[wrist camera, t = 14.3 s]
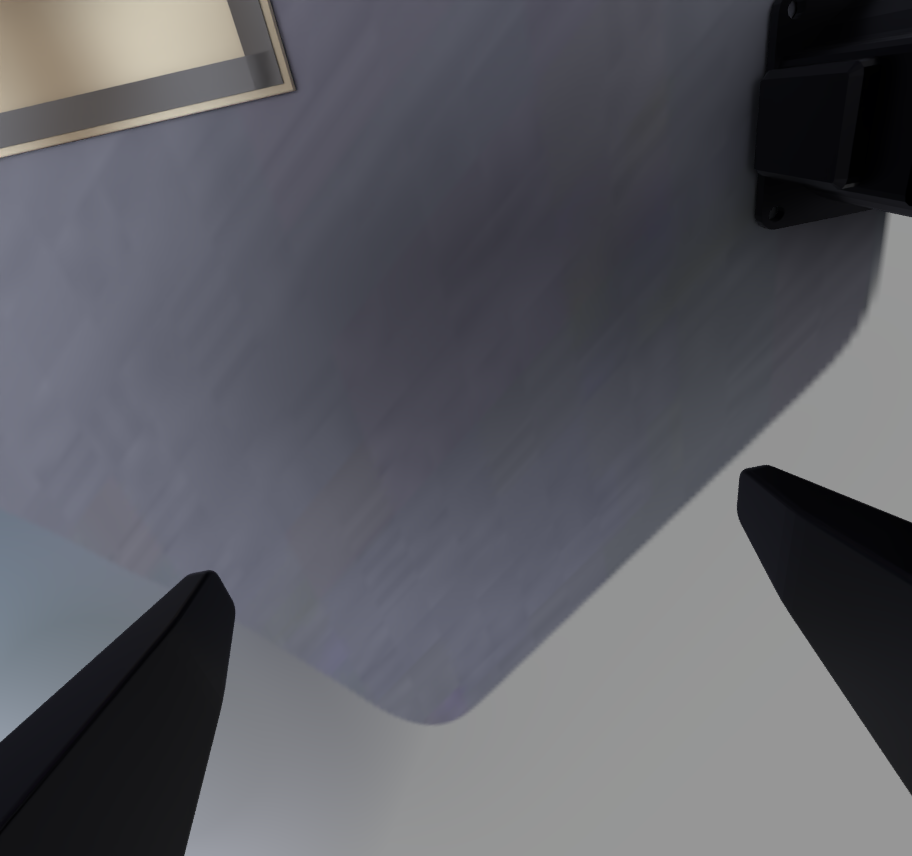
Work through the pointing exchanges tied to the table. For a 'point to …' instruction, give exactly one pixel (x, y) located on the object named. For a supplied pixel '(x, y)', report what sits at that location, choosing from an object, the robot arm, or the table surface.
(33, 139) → the marked board
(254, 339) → the table surface
